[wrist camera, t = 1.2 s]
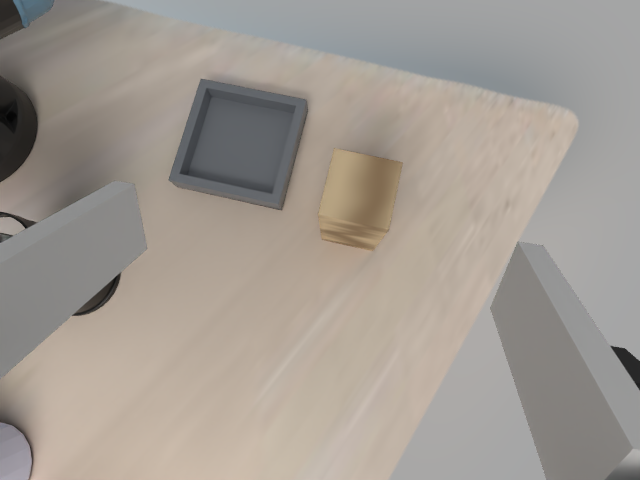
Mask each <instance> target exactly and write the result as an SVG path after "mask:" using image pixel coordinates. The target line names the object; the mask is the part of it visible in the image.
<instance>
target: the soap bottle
mask: <svg viewBox="0 0 640 480" xmlns="http://www.w3.org/2000/svg"><path fill="white" fill-rule="evenodd" d="M31 465H32V458H31V450H30V446H29V444H28V442H27V440H26V438H25V437H24V435H23V434H22V433H21V432H20V431H19V430H18V429H16V428H15V427H14V426H12V425H9V424H5V423H2V422H0V480H28V479H29V476H30V471H31Z"/></svg>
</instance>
